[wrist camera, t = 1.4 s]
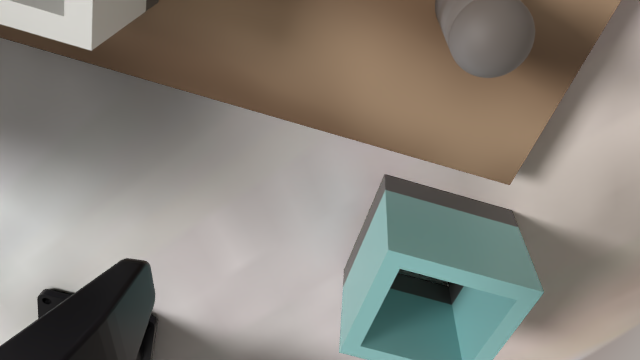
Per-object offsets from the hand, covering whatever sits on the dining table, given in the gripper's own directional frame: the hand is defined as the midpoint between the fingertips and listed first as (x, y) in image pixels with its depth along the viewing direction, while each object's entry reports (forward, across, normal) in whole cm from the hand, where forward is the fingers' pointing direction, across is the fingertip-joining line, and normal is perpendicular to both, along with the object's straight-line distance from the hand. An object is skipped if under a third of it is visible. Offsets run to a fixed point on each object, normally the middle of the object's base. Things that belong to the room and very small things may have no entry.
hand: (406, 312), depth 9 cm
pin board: (+13, +4, -3) cm, 14 cm away
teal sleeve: (+12, -3, +9) cm, 16 cm away
